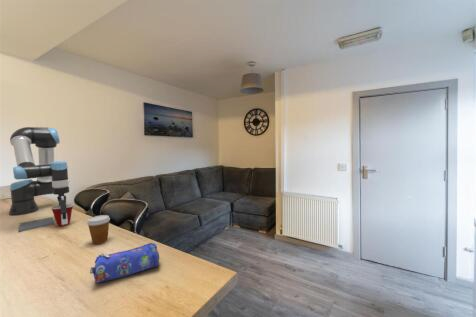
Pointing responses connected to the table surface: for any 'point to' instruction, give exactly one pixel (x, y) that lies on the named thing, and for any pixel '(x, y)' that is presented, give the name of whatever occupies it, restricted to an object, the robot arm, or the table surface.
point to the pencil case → (125, 262)
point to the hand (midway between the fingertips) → (63, 221)
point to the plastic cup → (57, 214)
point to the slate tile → (36, 224)
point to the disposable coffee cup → (99, 228)
